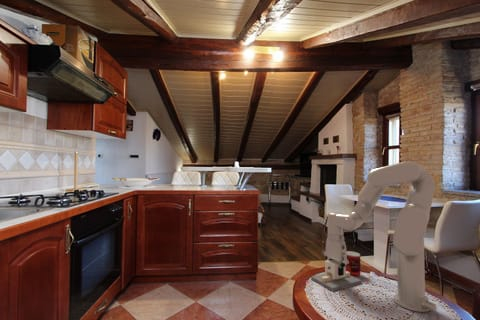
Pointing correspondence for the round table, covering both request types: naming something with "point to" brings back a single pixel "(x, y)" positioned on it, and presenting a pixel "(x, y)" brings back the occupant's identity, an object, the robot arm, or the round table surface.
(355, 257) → the canned food
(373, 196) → the robot arm
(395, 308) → the round table surface
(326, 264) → the cabinet block
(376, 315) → the round table surface
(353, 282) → the mount board
